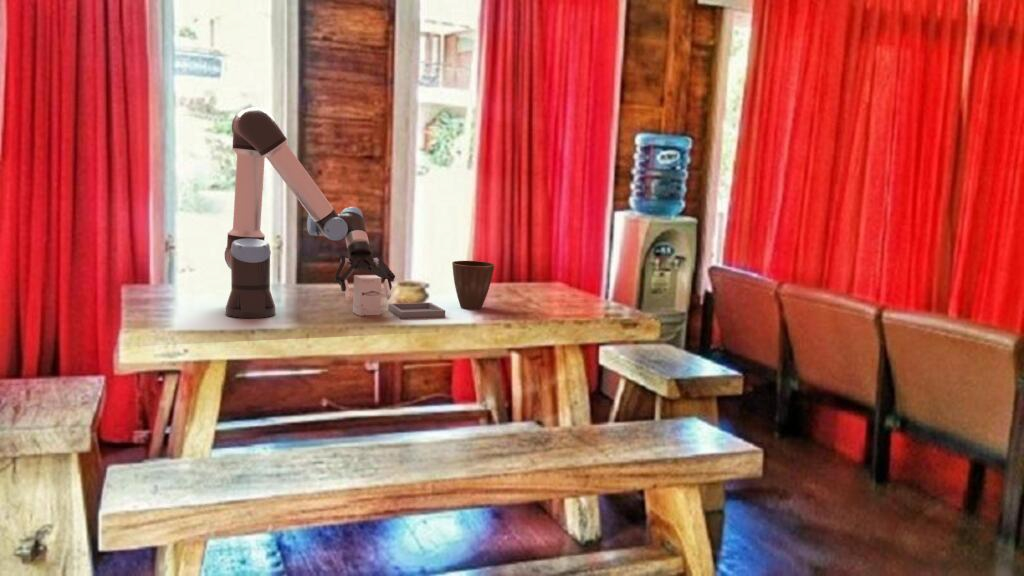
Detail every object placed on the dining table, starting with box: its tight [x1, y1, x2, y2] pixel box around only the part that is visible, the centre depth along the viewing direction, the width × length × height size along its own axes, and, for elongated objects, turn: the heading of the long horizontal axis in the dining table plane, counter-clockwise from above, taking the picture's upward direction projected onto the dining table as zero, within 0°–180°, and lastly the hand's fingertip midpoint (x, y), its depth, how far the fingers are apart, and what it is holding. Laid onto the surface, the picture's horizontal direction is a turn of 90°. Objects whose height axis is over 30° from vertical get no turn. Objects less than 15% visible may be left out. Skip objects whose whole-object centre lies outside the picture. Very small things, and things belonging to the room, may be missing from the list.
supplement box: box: [352, 274, 382, 317], centre depth 265 cm, size 7×7×13 cm
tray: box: [387, 302, 446, 320], centre depth 270 cm, size 15×15×2 cm
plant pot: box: [451, 260, 495, 311], centre depth 285 cm, size 15×15×16 cm
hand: (368, 298), depth 263 cm, fingers open, 13 cm apart
